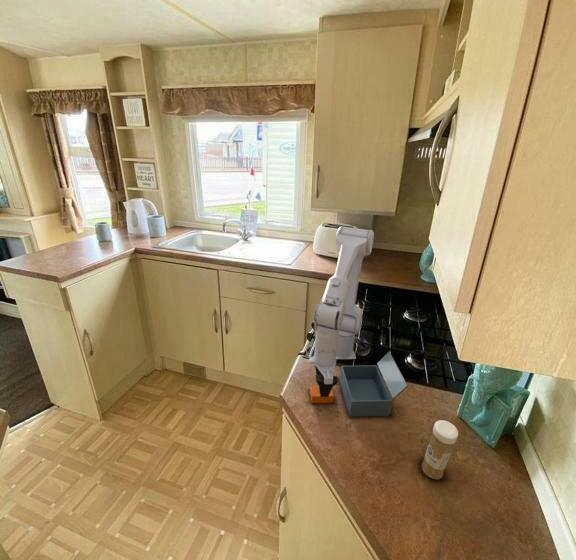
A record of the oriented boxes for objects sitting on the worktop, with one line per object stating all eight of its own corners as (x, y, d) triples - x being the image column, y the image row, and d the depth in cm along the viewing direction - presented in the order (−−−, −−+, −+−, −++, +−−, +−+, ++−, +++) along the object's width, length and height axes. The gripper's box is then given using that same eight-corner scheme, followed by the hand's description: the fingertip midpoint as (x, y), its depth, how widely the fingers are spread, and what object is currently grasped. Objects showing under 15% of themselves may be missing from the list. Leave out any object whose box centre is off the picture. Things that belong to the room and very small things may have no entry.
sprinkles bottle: (417, 464, 71) (429, 422, 66) (433, 458, 73) (446, 416, 67) (431, 483, 68) (446, 440, 62) (448, 476, 69) (464, 434, 63)
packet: (311, 402, 87) (312, 396, 86) (309, 392, 91) (310, 385, 90) (332, 402, 87) (333, 396, 86) (330, 391, 91) (331, 385, 90)
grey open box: (339, 379, 96) (341, 365, 93) (374, 379, 96) (376, 365, 94) (349, 416, 83) (351, 401, 81) (389, 415, 84) (392, 400, 81)
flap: (389, 351, 92) (390, 352, 92) (376, 363, 93) (377, 363, 94) (407, 385, 79) (408, 386, 79) (392, 398, 81) (393, 399, 81)
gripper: (307, 329, 88) (305, 367, 93) (314, 364, 75) (310, 406, 80) (332, 329, 88) (328, 367, 94) (343, 363, 75) (338, 405, 81)
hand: (322, 385), depth 87 cm, fingers open, 7 cm apart
